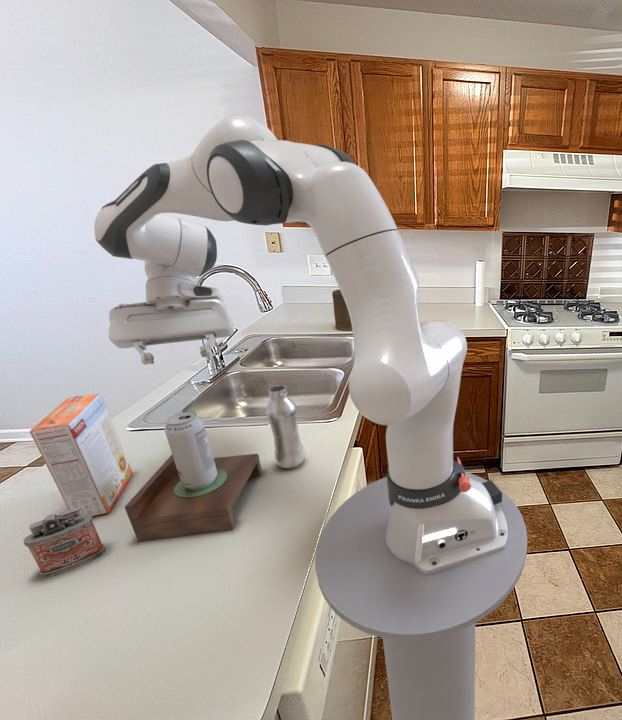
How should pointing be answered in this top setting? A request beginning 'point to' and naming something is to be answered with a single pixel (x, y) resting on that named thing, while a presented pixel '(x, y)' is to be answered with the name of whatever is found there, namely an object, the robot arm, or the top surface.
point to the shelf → (190, 500)
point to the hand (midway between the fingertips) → (177, 359)
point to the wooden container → (341, 312)
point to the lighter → (64, 542)
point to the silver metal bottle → (284, 428)
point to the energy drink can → (191, 450)
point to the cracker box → (83, 454)
